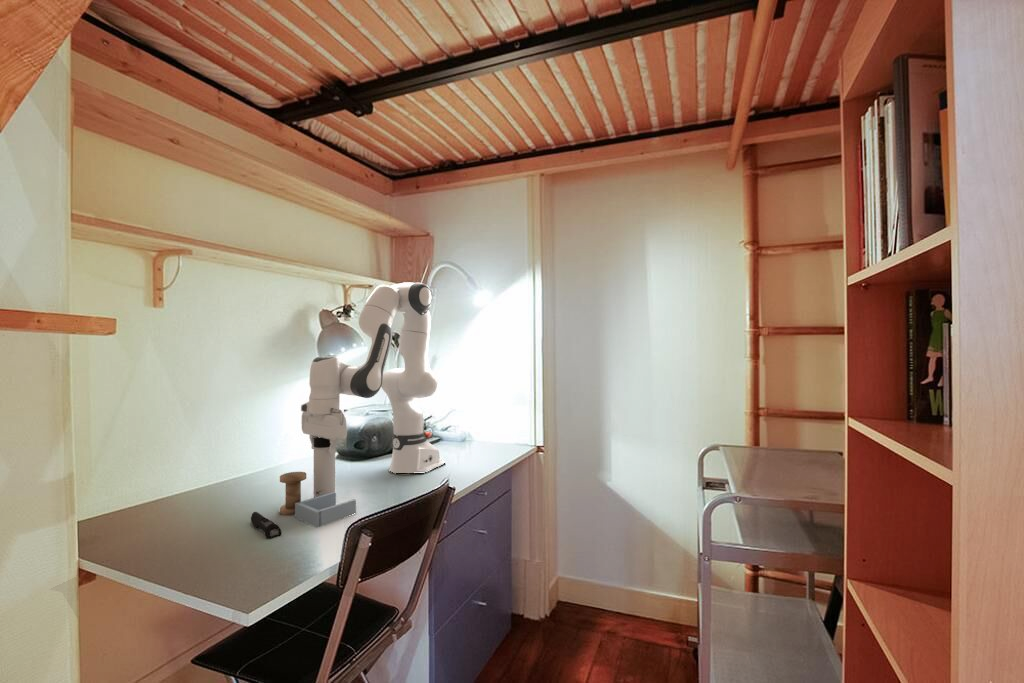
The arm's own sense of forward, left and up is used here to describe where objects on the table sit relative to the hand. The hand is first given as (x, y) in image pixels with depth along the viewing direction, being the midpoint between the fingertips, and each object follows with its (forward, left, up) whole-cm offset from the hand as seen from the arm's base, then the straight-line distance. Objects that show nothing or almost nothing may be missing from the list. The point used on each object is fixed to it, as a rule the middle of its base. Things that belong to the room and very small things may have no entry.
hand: (323, 451), depth 140 cm
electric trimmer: (+22, +8, -16) cm, 28 cm away
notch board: (+7, +13, -15) cm, 21 cm away
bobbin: (+11, +2, -15) cm, 18 cm away
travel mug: (0, 0, -15) cm, 15 cm away
